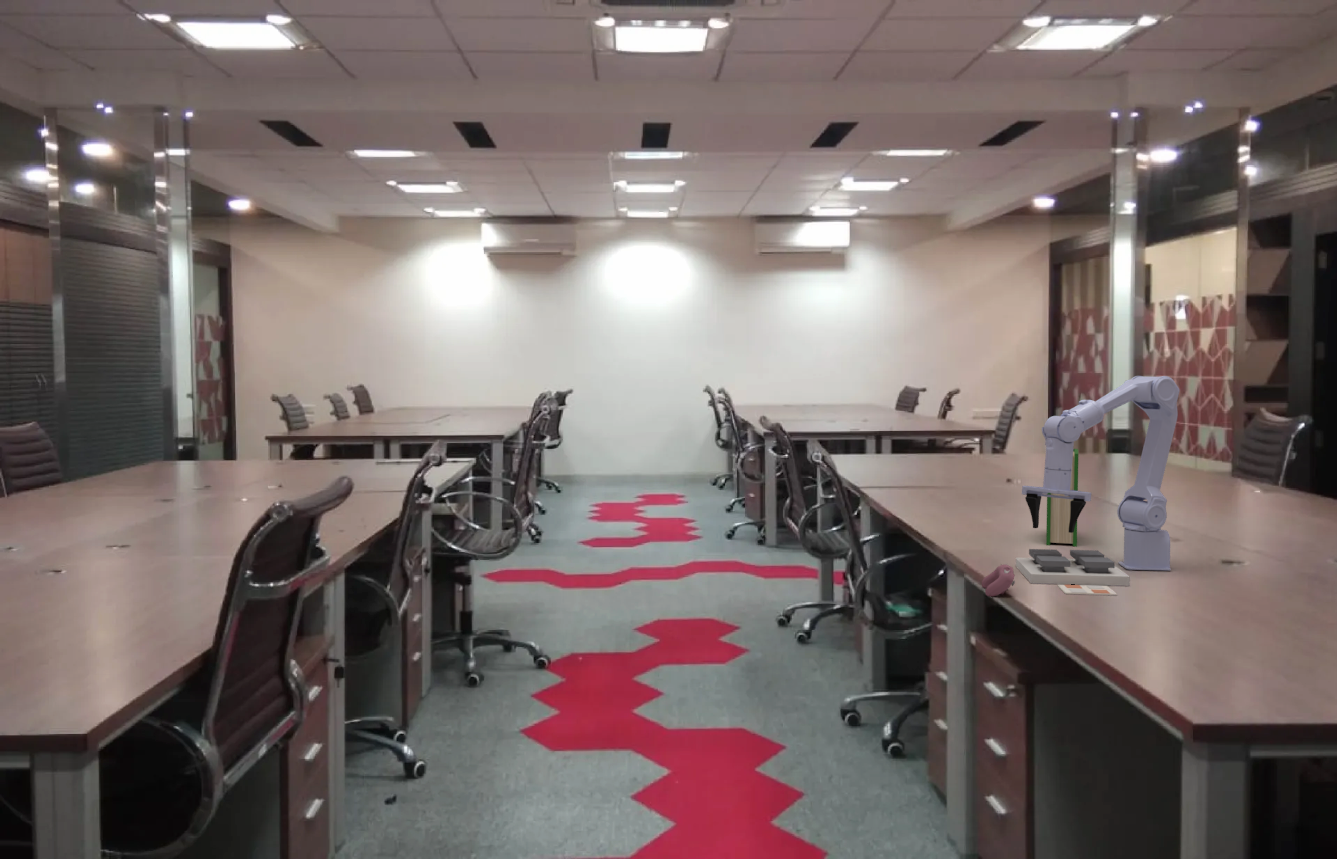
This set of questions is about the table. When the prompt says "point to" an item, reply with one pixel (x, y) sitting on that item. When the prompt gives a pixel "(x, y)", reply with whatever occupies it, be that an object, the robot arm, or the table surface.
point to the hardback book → (1062, 512)
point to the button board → (1071, 575)
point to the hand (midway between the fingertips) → (1053, 530)
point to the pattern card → (1086, 589)
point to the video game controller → (998, 580)
